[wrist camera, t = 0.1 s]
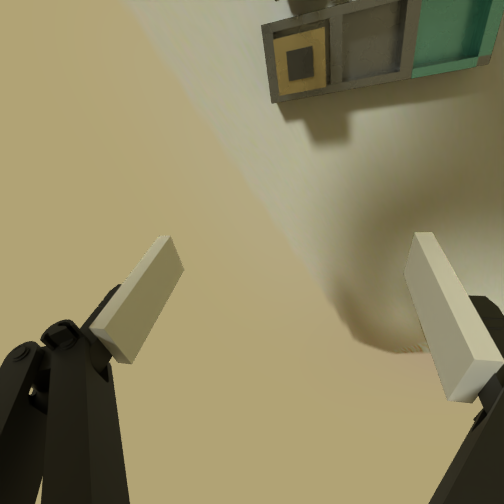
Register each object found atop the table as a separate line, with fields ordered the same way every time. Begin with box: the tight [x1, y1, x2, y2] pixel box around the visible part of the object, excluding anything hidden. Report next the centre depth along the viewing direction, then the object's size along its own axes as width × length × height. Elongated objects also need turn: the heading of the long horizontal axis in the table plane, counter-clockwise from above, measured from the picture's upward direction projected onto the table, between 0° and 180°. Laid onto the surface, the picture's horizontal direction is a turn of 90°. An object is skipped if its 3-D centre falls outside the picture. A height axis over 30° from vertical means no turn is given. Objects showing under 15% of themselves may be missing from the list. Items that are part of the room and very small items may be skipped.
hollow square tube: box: [273, 27, 326, 96], centre depth 28 cm, size 5×5×8 cm
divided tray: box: [261, 0, 504, 103], centre depth 29 cm, size 7×22×3 cm, turn 101°
